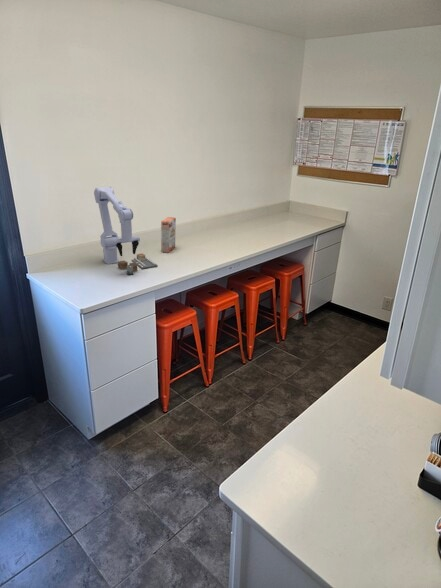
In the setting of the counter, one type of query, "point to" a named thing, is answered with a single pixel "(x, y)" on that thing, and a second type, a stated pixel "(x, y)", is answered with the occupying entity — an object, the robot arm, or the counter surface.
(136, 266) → the walnut block
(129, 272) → the metal peg
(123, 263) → the walnut block
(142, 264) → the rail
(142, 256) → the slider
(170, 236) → the cracker box
